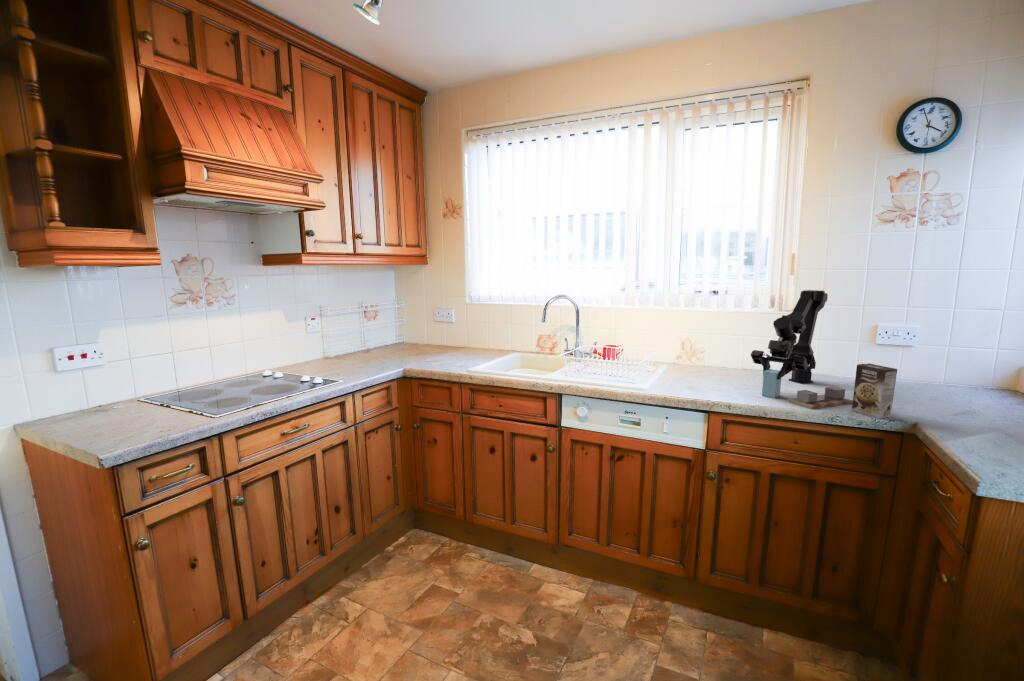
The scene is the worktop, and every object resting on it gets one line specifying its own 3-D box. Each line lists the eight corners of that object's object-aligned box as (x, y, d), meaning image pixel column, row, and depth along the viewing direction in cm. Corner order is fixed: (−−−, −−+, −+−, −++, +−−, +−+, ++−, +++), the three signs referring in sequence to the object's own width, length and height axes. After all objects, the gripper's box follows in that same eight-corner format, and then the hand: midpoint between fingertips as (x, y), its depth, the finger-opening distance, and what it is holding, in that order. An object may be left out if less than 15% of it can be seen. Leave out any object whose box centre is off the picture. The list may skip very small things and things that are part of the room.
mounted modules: (808, 402, 167) (808, 394, 167) (796, 399, 171) (797, 390, 171) (844, 397, 173) (845, 389, 172) (832, 394, 177) (833, 386, 176)
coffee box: (850, 410, 163) (855, 364, 160) (863, 408, 165) (868, 362, 162) (879, 419, 154) (884, 370, 151) (892, 416, 156) (898, 368, 154)
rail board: (810, 409, 165) (811, 406, 165) (788, 402, 173) (788, 399, 173) (852, 403, 171) (853, 400, 171) (828, 396, 180) (829, 393, 179)
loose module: (761, 395, 181) (763, 371, 180) (767, 393, 185) (769, 369, 183) (774, 398, 178) (776, 373, 177) (779, 395, 181) (781, 371, 180)
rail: (806, 403, 167) (806, 402, 167) (797, 401, 171) (797, 399, 171) (843, 398, 173) (843, 397, 173) (834, 396, 177) (834, 394, 176)
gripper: (754, 329, 187) (739, 361, 182) (807, 334, 173) (793, 369, 168) (761, 347, 193) (747, 378, 188) (813, 353, 179) (799, 387, 174)
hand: (770, 377), depth 179 cm, fingers closed on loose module, 4 cm apart
